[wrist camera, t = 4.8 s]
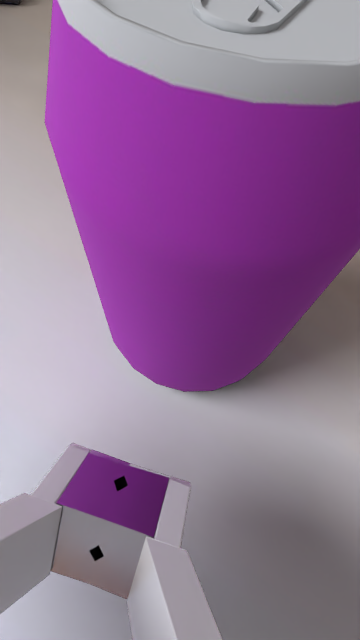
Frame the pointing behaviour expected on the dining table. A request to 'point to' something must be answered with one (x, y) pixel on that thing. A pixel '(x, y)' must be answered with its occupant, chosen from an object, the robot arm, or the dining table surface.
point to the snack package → (10, 1)
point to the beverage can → (207, 170)
